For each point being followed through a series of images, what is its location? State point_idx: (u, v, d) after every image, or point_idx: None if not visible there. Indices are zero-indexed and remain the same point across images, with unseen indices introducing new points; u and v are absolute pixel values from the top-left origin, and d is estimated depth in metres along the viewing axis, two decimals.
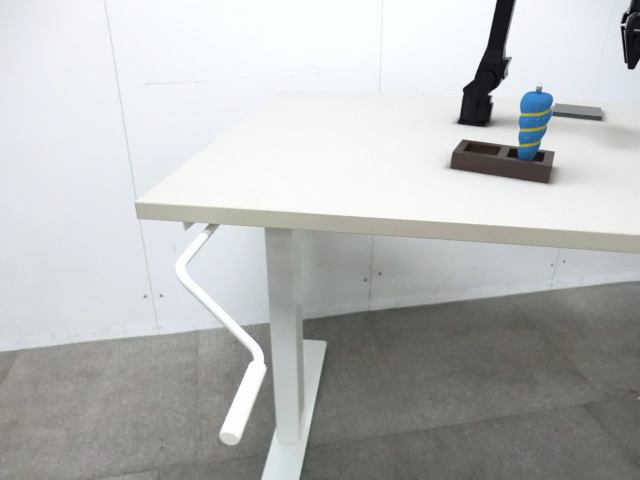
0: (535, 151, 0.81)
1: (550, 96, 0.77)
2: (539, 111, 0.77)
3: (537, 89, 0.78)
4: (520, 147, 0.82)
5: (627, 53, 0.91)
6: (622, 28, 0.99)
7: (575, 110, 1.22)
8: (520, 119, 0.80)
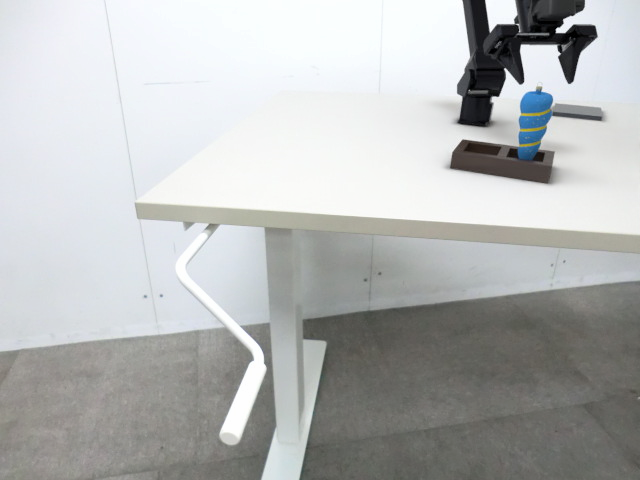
0: (535, 151, 0.81)
1: (550, 96, 0.77)
2: (539, 111, 0.77)
3: (537, 89, 0.78)
4: (520, 147, 0.82)
5: (510, 72, 0.86)
6: (558, 57, 0.89)
7: (575, 110, 1.22)
8: (520, 119, 0.80)
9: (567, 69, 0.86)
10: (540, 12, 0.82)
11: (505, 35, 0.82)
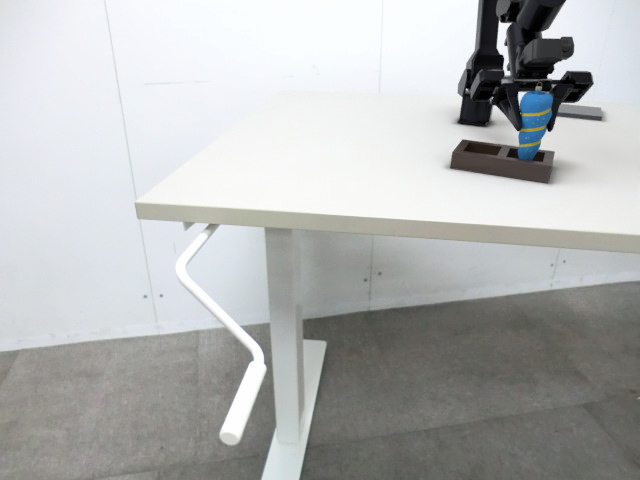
0: (535, 151, 0.81)
1: (550, 96, 0.77)
2: (539, 111, 0.77)
3: (537, 89, 0.78)
4: (520, 147, 0.82)
5: (508, 119, 0.82)
6: None
7: (575, 110, 1.22)
8: None
9: None
10: (526, 57, 0.78)
11: (488, 80, 0.79)
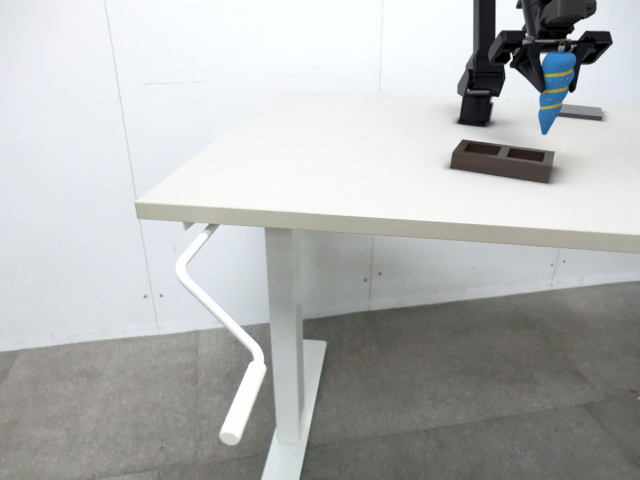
0: (557, 113, 0.80)
1: (573, 55, 0.76)
2: (563, 71, 0.76)
3: (560, 49, 0.76)
4: (541, 110, 0.81)
5: (529, 81, 0.80)
6: None
7: (575, 110, 1.22)
8: None
9: None
10: (548, 16, 0.76)
11: (510, 41, 0.77)
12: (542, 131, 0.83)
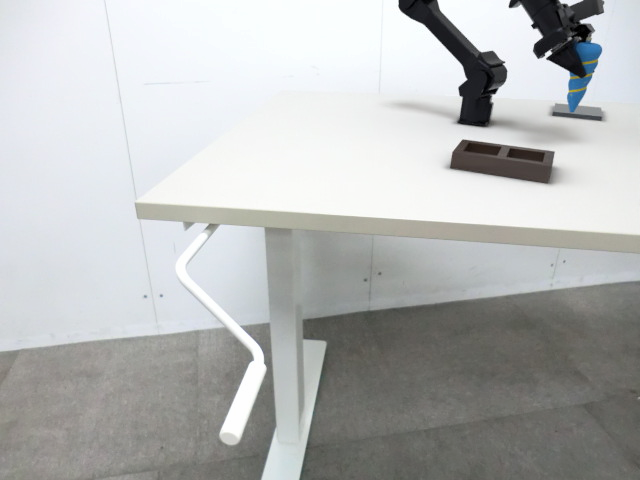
0: (584, 93, 0.97)
1: None
2: (597, 58, 0.92)
3: (589, 40, 0.92)
4: (576, 92, 0.96)
5: (567, 69, 0.94)
6: None
7: (575, 110, 1.22)
8: None
9: None
10: (579, 14, 0.90)
11: (568, 36, 0.88)
12: (572, 109, 0.99)
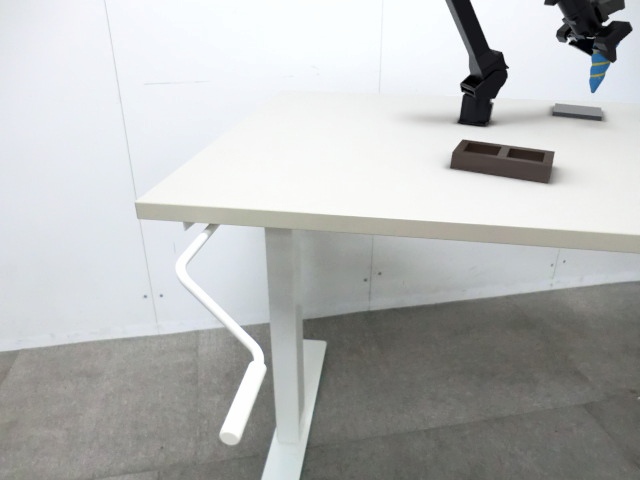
0: None
1: None
2: None
3: None
4: (603, 75, 1.12)
5: (606, 57, 1.08)
6: (576, 45, 1.13)
7: (575, 110, 1.22)
8: None
9: None
10: (613, 8, 1.04)
11: None
12: (595, 90, 1.15)
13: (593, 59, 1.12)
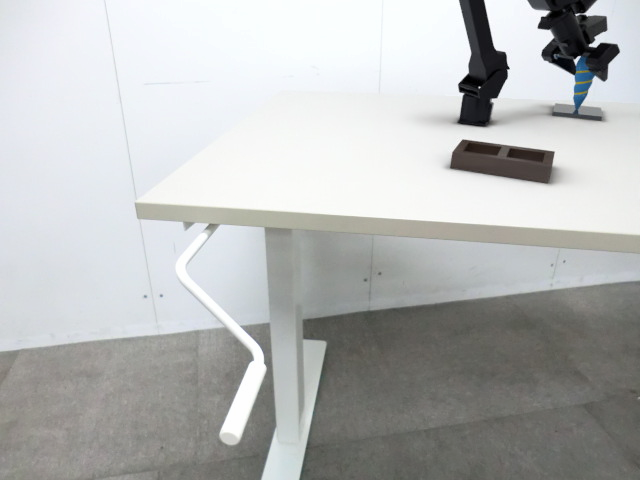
0: None
1: None
2: None
3: None
4: (586, 92, 1.20)
5: (600, 77, 1.14)
6: (557, 63, 1.21)
7: (575, 110, 1.22)
8: None
9: (571, 67, 1.22)
10: (598, 31, 1.12)
11: None
12: (579, 107, 1.23)
13: (577, 78, 1.19)
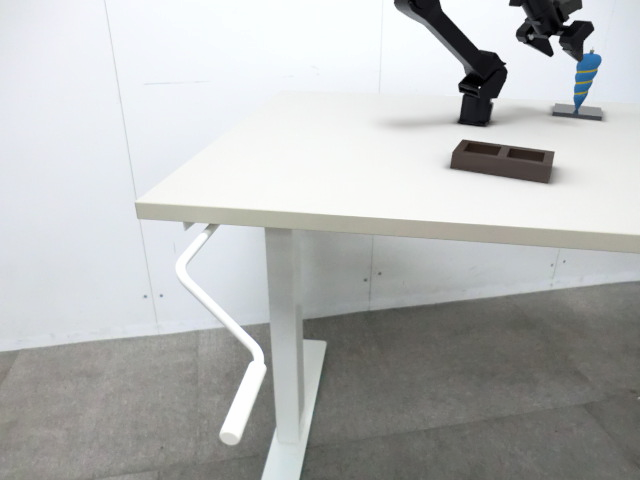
0: None
1: None
2: None
3: (593, 51, 1.16)
4: (586, 93, 1.20)
5: (575, 57, 1.09)
6: (531, 44, 1.16)
7: (575, 110, 1.22)
8: (594, 73, 1.17)
9: (546, 48, 1.17)
10: (573, 8, 1.07)
11: None
12: (579, 107, 1.23)
13: (577, 78, 1.19)
